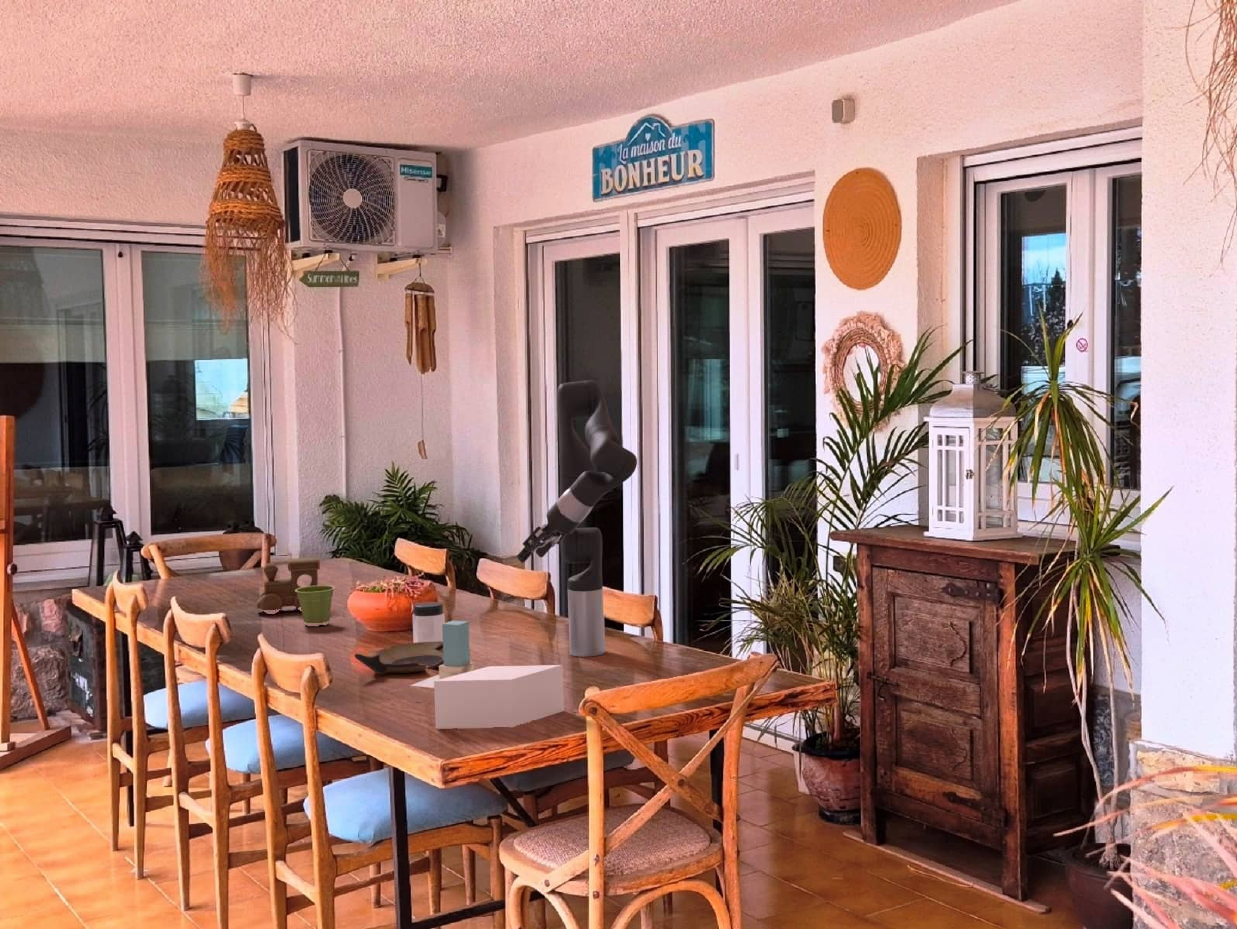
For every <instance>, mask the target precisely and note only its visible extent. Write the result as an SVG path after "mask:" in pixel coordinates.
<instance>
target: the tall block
mask: <svg viewBox="0 0 1237 929" xmlns="http://www.w3.org/2000/svg"><path fill="white" fill-rule="evenodd" d="M442 632H443V648H442V650H443V658H444V666H456V667H461V666H463V665H466V664H468V663H470V662H471V654H470V627H469V621H467V620H466V621H463V620H451V621H448V622H445V623H444V624H442Z"/></svg>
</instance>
